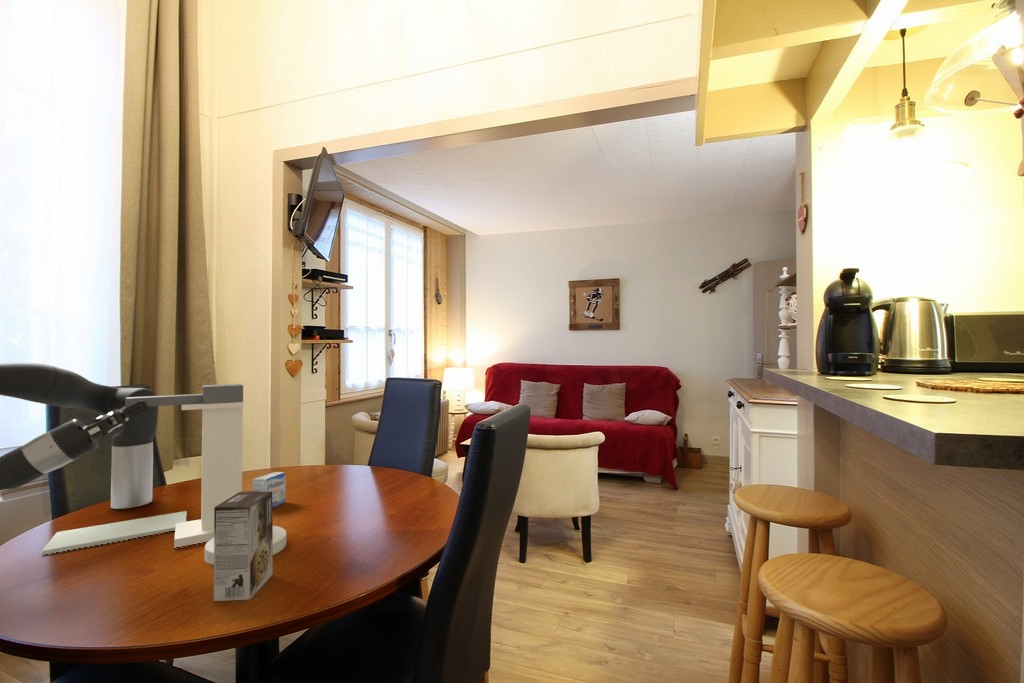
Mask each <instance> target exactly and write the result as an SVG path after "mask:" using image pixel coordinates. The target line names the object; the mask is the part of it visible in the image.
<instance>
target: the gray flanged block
mask: <svg viewBox="0 0 1024 683" xmlns="http://www.w3.org/2000/svg"><path fill="white" fill-rule="evenodd" d="M141 400H144V401H145V402H146V404H147V405H148V407H150V406H158V407H165V406H179V405H180V406H182V405H186V404H215V403H233V402H243V403H244V385H243V384H241V383H229V384H228V383H227V384H204V385H203V384H202V393H198V394H194V393H193V394H176V395H175V394H171V395H156V396H147V397H127V398H126V399H125V408H127V407H129V406H131V405H133V404H135V403H137V402H139V401H141Z"/></svg>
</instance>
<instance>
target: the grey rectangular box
mask: <svg viewBox="0 0 1024 683" xmlns="http://www.w3.org/2000/svg"><path fill="white" fill-rule="evenodd" d="M273 509H274V508H272V491H267V492H261V491H253V490H252V491H242V492H238V493H237V494H235V495H234V496H232V497H230V498H229V499H227V500H225V501H224V502H222V503H221V504H219V505H217V506H216V507H214V565H213V601H214V602H226V601H247V600H248V601H249V600H251V599H252V598H253V597H255V595H256V594H257V593H258V592H259V590H261V588H262V587H263V586H264V585H265V584H266V583H267V581H269V579H270V578H272V576H273V573H274V572H273V571H274V568H273V563H274V561H273V559H274V558H273V526H274V525H273V524H274V523H273V522H274V521H273V517H274V516H273V511H274V510H273Z"/></svg>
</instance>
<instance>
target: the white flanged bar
mask: <svg viewBox="0 0 1024 683" xmlns="http://www.w3.org/2000/svg"><path fill="white" fill-rule="evenodd" d="M243 407H244V401H243V402H233V403H215V404H186V405H181V411H189V410H190V411H191V410H193V411H194V410H202V411H201V412H202V414H201V416H202V417H201V418H202V420H201V423H202V426H201V429H202V430H201V439H202V440H201V497H200V498H201V499H200V500H201V503H200V504H201V506H200V507H201V509H200V511H201V512H200V514H201V515H200V516H201V517H200V519H195V520H190V521H189V520H188V521H187V520H186V522H182V523H176V528H175V532H174V539H173V542H174V543H173V546H174V547H173V549H174V548H176V547H181V548H183V547H182V546H186V545H191V544H196V545H198V544H197V543H201V544H203V543H202V542H206V543H207V541H210V540H211V539H212V538H214V507H216V506H217V505H219V504H221V503H222V502H224V501H225V500H227V499H229V498H230V497H232V496H234V495H235V494H237V493H238V492H243V425H244V424H243V422H244V421H243V420H244V419H243V415H244V414H243V410H244V408H243ZM191 546H192V545H191ZM186 547H187V546H186ZM176 549H177V548H176Z"/></svg>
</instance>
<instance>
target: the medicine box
mask: <svg viewBox="0 0 1024 683" xmlns="http://www.w3.org/2000/svg"><path fill="white" fill-rule="evenodd" d="M252 491H261V492H267V491H272V509H274V508H277V506H281V505H282V503H283V504H285V503H286V472H284V471H282V472H280V471H273V472H270V473H267V474H264V475H261V476H258V477H256V478H252ZM284 502H285V503H284ZM273 507H274V508H273Z"/></svg>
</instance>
